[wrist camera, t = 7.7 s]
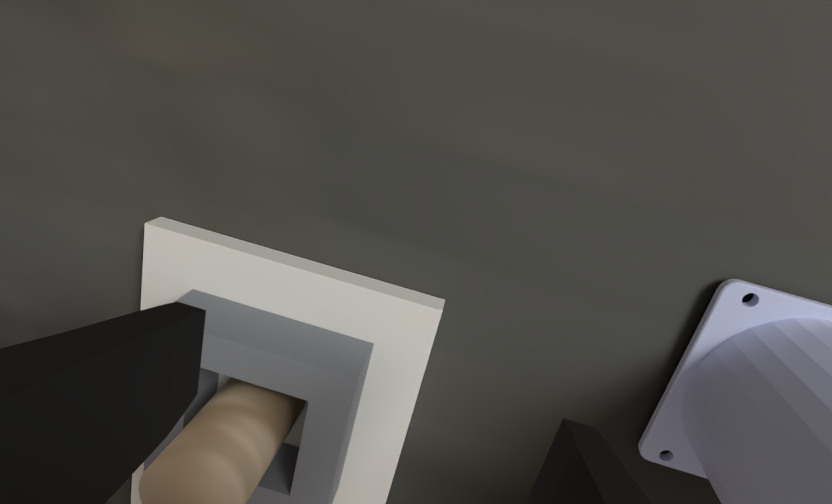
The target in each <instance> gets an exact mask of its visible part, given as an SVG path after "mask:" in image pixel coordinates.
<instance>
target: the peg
mask: <svg viewBox="0 0 832 504" xmlns="http://www.w3.org/2000/svg"><path fill="white" fill-rule="evenodd" d="M305 402H306V400H303V399H300V398H297V397H293V396H290V395H287V394H284V393H281V392H277V391H274V390H271V389H268V388H265V387H261V386H258V385H255V384H252V383H249V382H245V381H242V380H239V379H236V378H233V377H231V378H230V379H229V380H228V381H227V382H226V383H225V384H224V385H223V386H222V387H221V389H220V390H219V391H218V392H217V393H216V394H215V395H214V396H213V397H212V398H211V399H210V400H209V402H208V403H207V404H206V405H205V406H204V407H203V408H202V409H201V410H200V411H199V412H198V413H197V415H196V416H195V417H194V418H193V419H192V420H191V421H190V422H189V423H188V424H187V425H186V427H185V428H184V429H183V430H182V431H181V432H180V433H179V434H178V435H177V436H176V437H175V438H174V440H173V441H172V442H171V443H170V444H169V445H168V446H167V447H166V448H165V449H164V450H163V451H162V453H161V454H160V455H159V456H158V457H157V458H156V459H155V460H154V461H153V462H152V463H151V465H150V466H149V467H148V468H147V469H146V470H145V471H144V472H143V474H142V476H141V478H140V481H139V496H140V499H141V503H142V504H246V503H247V501H248V500H249V498H250V496H251V495H252V493H253V491H254V490H255V488H256V486H257V485H258V483H259V481H260V480H261V478H262V476H263V475H264V473H265V472H266V470H267V468H268V467H269V465H270V463H271V462H272V460H273V458H274V457H275V455H276V453H277V452H278V450H279V448H280V447H281V445H282V443H283V442H284V440H285V439H286V437H287V435H288V434H289V432H290V430H291V429H292V427H293V425H294V424H295V422H296V420H297V419H298V417H299V415H300V414H301V412H302V410H303V408H304V406H305Z"/></svg>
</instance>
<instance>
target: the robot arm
mask: <svg viewBox="0 0 832 504" xmlns="http://www.w3.org/2000/svg"><path fill="white" fill-rule="evenodd" d="M749 293H753V294H754V295H753V298H752V299H751V300H750V301H748V302H742V299H743V297H744V296H745V295H746V294H749ZM205 316H206V310H204V309H200V308H197V307H194V306H190V305H187V304H184V303H181V302H173V303H168V304H164V305H160V306H156V307H152V308H148V309H145V310H141V311H138V312H134V313H131V314H127V315H124V316H120V317H117V318H113V319H110V320H106V321H103V322H99V323H96V324H92V325H89V326H85V327H82V328H78V329H75V330H71V331H68V332H64V333H60V334H57V335H53V336H49V337H45V338H41V339H37V340H33V341H29V342H25V343H21V344H17V345H13V346H9V347H5V348H1V349H0V504H105V503H106V501H107V500H108V499H109V498H110V497H111V496H112V495H113V494H114V493H115V492H116V491H117V490H118V489H119V488H120V487H121V486H122V485H123V483H124V482H125V481H126V480H127V479H128V478H129V477H130V476H131V475H132V474H133V473H134V472H135V471H136V470H137V469H138V468H139V466H140V465H141V464H142V463H143V462H144V461H145V460H146V459H147V458H148V457H149V456H150V455H151V453H152V452H153V451H154V450H155V449H156V448H157V447H158V446H159V445H160V444H161V443H162V441H163V440H164V439H165V438H166V437H167V436H168V434H169V433H170V432H171V430H172V429H173V428H174V426H175V425H176V424H177V422H178V421H179V420H180V418H181V417H182V416H183V414H184V413H185V411H186V410H187V408H188V407H189V406H190V404H191V403H192V401H193V400H194V398H195V397H196V396H197V394H198V384H199V374H200V365H201V355H202V345H203V336H204V326H205ZM638 448H639V451H640V454H641V456H642V457H643V458H644V459H646V460H648V461H651V462H654V463H657V464H661V465H664V466H667V467H670V468H674V469H677V470H680V471H683V472H687V473H690V474H693V475H696V476H700V477H703V478H706V479H709V481H710V483H711V485H712V487H713V489H714V491H715V493H716V495H717V497H718V499H719V500H720V502H721V504H832V305H828V304H824V303H821V302H817V301H814V300H810V299H807V298H803V297H799V296H796V295H792V294H789V293H785V292H782V291H778V290H774V289H771V288H767V287H764V286H760V285H756V284H753V283H749V282H746V281H742V280H739V279H729V280H726V281H724V282H722V283H721V284H720V285H719V286H718V288H717V290H716V292H715V294H714V295H713V297H712V299H711V301H710V303H709V305H708V307H707V309H706V311H705V313H704V315H703V317H702V319H701V321H700V323H699V325H698V327H697V329H696V331H695V333H694V335H693V337H692V339H691V341H690V343H689V345H688V347H687V348H686V350H685V352H684V354H683V356H682V358H681V360H680V362H679V364H678V366H677V368H676V370H675V372H674V374H673V376H672V378H671V380H670V382H669V384H668V386H667V388H666V390H665V392H664V394H663V396H662V398H661V400H660V402H659V403H658V405H657V407H656V409H655V411H654V413H653V415H652V417H651V419H650V421H649V423H648V425H647V427H646V429H645V431H644V433H643V435H642V437H641V439H640V441H639V443H638ZM665 450H669V452H668V453H667V454H660V453H661V452H662V451H665ZM528 504H651V503H650V502H649V500H648V499H647V498H646V496H645V495H644V494H643V492H642V491H641V490H640V488H639V487H638V485H637V484H636V483H635V481H634V480H633V479H632V477H631V476H630V474H629V473H628V472H627V470H626V469H625V468H624V466H623V465H622V463H621V462H620V461H619V459H618V458H617V456H616V455H615V454H614V452H613V451H612V450H611V448H610V447H609V445H608V444H607V443H606V441H605V440H604V439H603V437H602V436H601V435H600V434H599V432H598V431H597V430H596V429H595V428H593V427H589V426H586V425H583V424H580V423H576V422H573V421H570V420H566V419H563V420H562V422H561V425H560V427H559V429H558V432H557V434H556V436H555V439H554V441H553V443H552V446H551V448H550V450H549V452H548V455H547V457H546V459H545V462H544V464H543V466H542V469H541V471H540V473H539V476H538V478H537V480H536V483H535V485H534V487H533V490H532V492H531V494H530V497H529V501H528Z"/></svg>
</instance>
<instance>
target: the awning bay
mask: <svg viewBox="0 0 832 504" xmlns="http://www.w3.org/2000/svg"><path fill="white" fill-rule="evenodd" d="M173 302H181V303H184V304H187V305H190V306H194V307H197V308H200V309H204V310H206V316H205V326H204V336H203V345H202V355H201V365H200V374H199V384H198V394H197V396H196V397H195V398H194V400H193V401H192V403H191V404H190V406H189V407H188V408H187V410H186V411H185V413H184V414H183V416H182V417H181V418H180V420H179V421H178V422H177V424H176V425H175V426H174V428H173V429H172V430H171V432H170V433H169V434H168V436H167V437H166V438H165V439H164V440H163V441H162V443H161V444H160V445H159V446H158V447H157V448H156V449H155V450H154V451H153V452H152V453H151V455H150V456H149V457H148V458H147V459H146V460H145V461H144V462H143V463H142V464H141V465H140V466H139V468H138V469H137V470H136V471H135V472H134V473H133V474H132V489H131V504H142V503H141V499H140V496H139V481H140V478H141V476H142V474H143V472H144V471H145V470H146V469H147V468H148V467H149V466H150V465H151V463H152V462H153V461H154V460H155V459H156V458H157V457H158V456H159V455H160V454H161V453H162V451H163V450H164V449H165V448H166V447H167V446H168V445H169V444H170V443H171V442H172V441H173V440H174V438H175V437H176V436H177V435H178V434H179V433H180V432H181V431H182V430H183V429H184V428H185V427H186V425H187V424H188V423H189V422H190V421H191V420H192V419H193V418H194V417H195V416H196V415H197V413H198V412H199V411H200V410H201V409H202V408H203V407H204V406H205V405H206V404H207V403H208V402H209V400H210V399H211V398H212V397H213V396H214V395H215V394H216V393H217V392H218V391H219V390H220V389H221V387H222V386H223V385H224V384H225V383H226V382H227V381H228V380H229V379H230V378H231V377H233V378H236V379H239V380H242V381H245V382H249V383H252V384H255V385H258V386H261V387H265V388H268V389H271V390H274V391H277V392H281V393H284V394H287V395H290V396H293V397H297V398H300V399H303V400H306V402H305V406H304V408H303V410H302V412H301V414H300V415H299V417H298V419H297V420H296V422H295V424H294V425H293V427H292V429H291V430H290V432H289V434H288V435H287V437H286V439H285V440H284V442H283V443H282V445H281V447H280V448H279V450H278V452H277V453H276V455H275V457H274V458H273V460H272V462H271V463H270V465H269V467H268V468H267V470H266V472H265V473H264V475H263V476H262V478H261V480H260V481H259V483H258V485H257V486H256V488H255V490H254V491H253V493H252V495H251V496H250V498H249V500H248V501H247V503H246V504H386V500H387V497H388V494H389V490H390V487H391V483H392V480H393V477H394V473H395V470H396V466H397V463H398V460H399V456H400V453H401V450H402V446H403V443H404V439H405V436H406V433H407V429H408V426H409V423H410V419H411V416H412V412H413V409H414V406H415V402H416V399H417V395H418V392H419V389H420V385H421V382H422V379H423V375H424V372H425V368H426V365H427V362H428V358H429V355H430V351H431V348H432V345H433V341H434V338H435V335H436V331H437V328H438V324H439V321H440V318H441V314H442V311H443V307H444V303H445V300H444V299H441V298H437V297H434V296H431V295H427V294H424V293H420V292H417V291H414V290H410V289H407V288H403V287H400V286H396V285H393V284H390V283H386V282H383V281H379V280H376V279H373V278H369V277H366V276H362V275H359V274H355V273H352V272H349V271H345V270H342V269H338V268H335V267H332V266H328V265H325V264H321V263H318V262H314V261H311V260H308V259H304V258H301V257H297V256H294V255H291V254H287V253H284V252H280V251H277V250H273V249H270V248H267V247H263V246H260V245H256V244H253V243H250V242H246V241H243V240H239V239H236V238H232V237H229V236H226V235H222V234H219V233H215V232H212V231H209V230H205V229H202V228H198V227H195V226H191V225H188V224H185V223H181V222H178V221H174V220H171V219H168V218H164V217H159V218H156V219H154V220H152V221H149V222H147V223H145V231H144V251H143V270H142V290H141V310H145V309H148V308H152V307H156V306H160V305H164V304H168V303H173ZM141 310H140V311H141Z"/></svg>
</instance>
